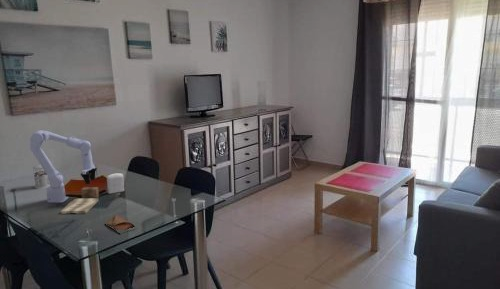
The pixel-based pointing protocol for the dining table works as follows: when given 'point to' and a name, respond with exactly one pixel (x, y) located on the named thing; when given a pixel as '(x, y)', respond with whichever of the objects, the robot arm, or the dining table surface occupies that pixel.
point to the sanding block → (90, 192)
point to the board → (79, 205)
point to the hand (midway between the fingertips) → (90, 181)
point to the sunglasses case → (119, 223)
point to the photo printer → (115, 183)
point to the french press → (40, 178)
